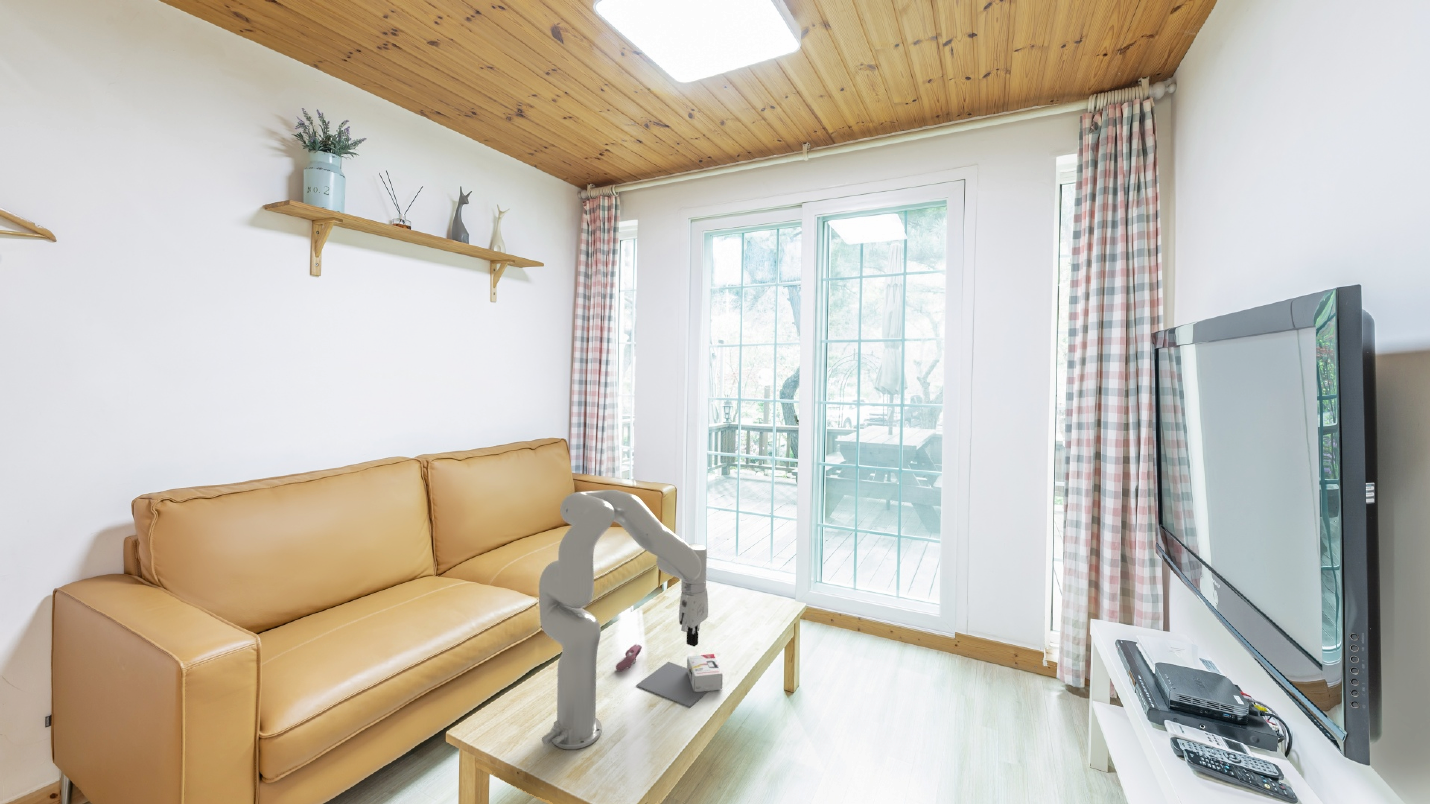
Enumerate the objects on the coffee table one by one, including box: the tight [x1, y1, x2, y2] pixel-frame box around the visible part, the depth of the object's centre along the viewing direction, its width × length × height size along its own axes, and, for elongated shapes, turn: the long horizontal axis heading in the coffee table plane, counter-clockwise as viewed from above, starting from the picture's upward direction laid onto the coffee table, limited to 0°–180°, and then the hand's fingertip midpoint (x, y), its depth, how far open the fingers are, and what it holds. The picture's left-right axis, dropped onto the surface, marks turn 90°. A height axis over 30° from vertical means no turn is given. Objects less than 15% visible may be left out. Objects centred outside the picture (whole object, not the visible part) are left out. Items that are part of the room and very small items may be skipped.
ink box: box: [686, 653, 723, 692], centre depth 165 cm, size 9×5×12 cm
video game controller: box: [615, 643, 643, 672], centre depth 174 cm, size 10×5×7 cm, turn 169°
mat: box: [635, 661, 709, 709], centre depth 164 cm, size 16×19×1 cm
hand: (692, 644), depth 169 cm, fingers closed
